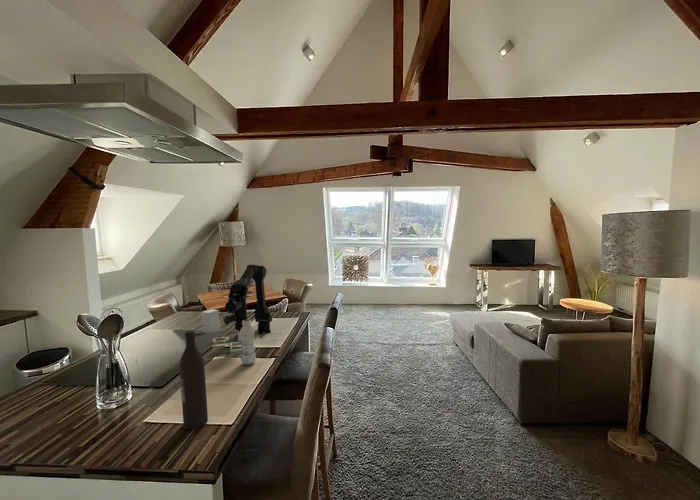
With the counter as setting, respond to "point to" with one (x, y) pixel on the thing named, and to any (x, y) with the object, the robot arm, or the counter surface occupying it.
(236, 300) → the robot arm
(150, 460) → the counter surface
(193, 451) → the counter surface
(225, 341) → the pulley board
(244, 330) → the plastic bottle
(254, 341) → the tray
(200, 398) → the wine bottle
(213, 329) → the supplement box
